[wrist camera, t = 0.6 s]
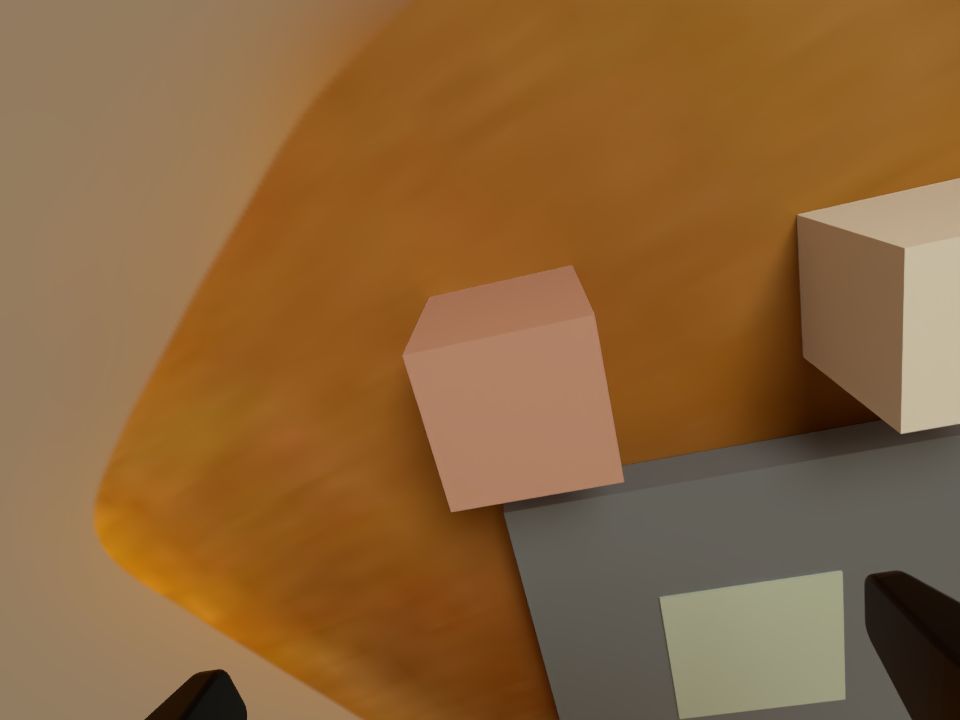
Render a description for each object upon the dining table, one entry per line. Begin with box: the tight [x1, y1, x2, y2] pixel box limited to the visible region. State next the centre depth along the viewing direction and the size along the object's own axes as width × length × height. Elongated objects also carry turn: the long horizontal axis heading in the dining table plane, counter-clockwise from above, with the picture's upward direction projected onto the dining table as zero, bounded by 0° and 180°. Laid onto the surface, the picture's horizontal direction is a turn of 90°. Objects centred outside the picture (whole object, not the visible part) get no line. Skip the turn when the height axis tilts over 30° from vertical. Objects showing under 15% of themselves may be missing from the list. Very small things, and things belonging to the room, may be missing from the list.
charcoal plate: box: [503, 420, 960, 720], centre depth 22 cm, size 15×15×2 cm
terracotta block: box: [402, 265, 624, 512], centre depth 16 cm, size 4×4×5 cm
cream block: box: [797, 178, 960, 434], centre depth 15 cm, size 4×4×5 cm
